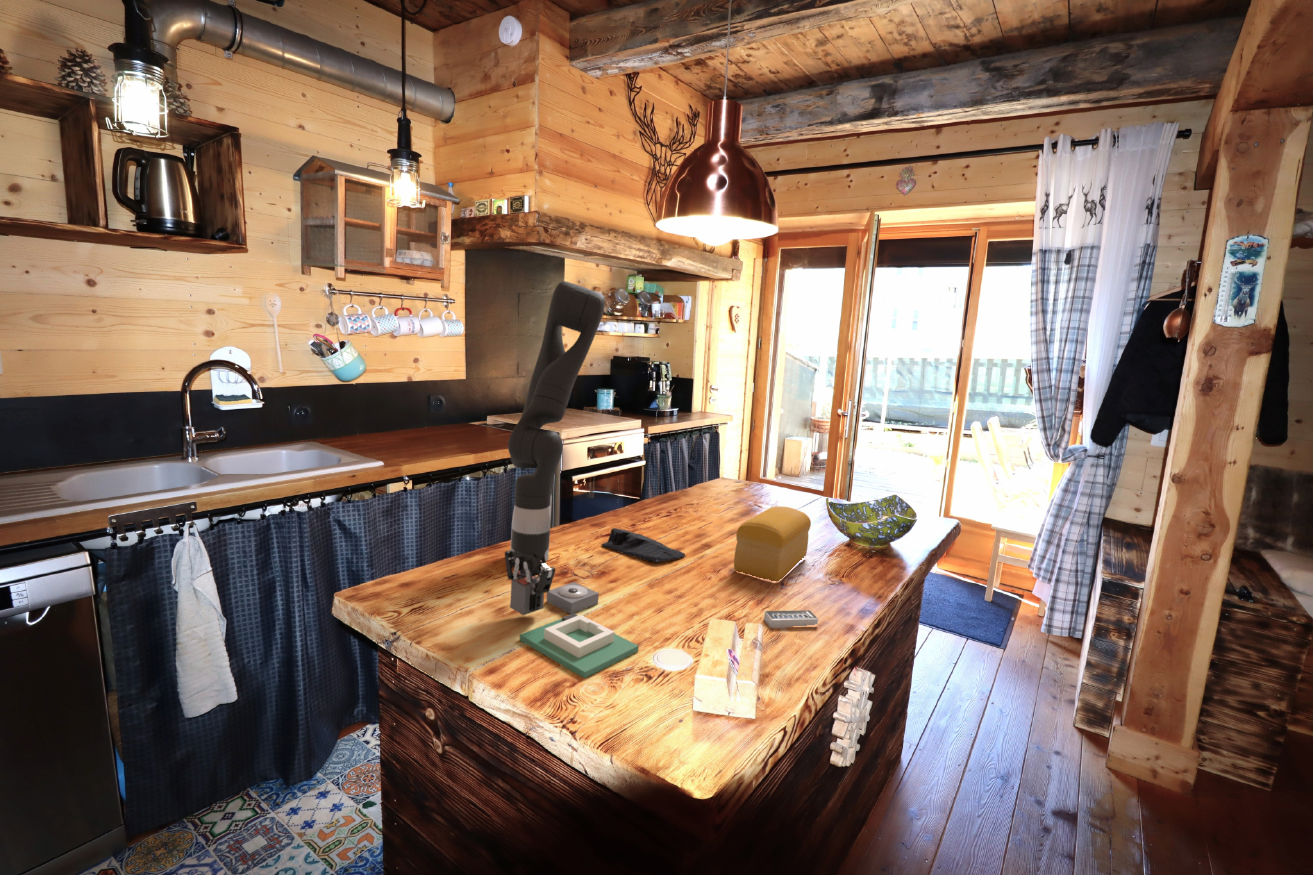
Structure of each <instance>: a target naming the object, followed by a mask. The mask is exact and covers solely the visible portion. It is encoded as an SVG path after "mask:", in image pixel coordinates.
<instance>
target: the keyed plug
mask: <svg viewBox="0 0 1313 875" xmlns="http://www.w3.org/2000/svg"><path fill="white" fill-rule="evenodd" d="M535 577H537V575H536V576H533V577H532V578H535ZM510 585H511V586H510V587H511V588H510V602H509V603H510V606H509V608H511V610H514V611H515V612H517V613H519V614H520V615H522V616H527V615H528V614H531V613H534V612H537V611H539V610H543V609H544V602H545V601H544V600H545V599H544V598H545V593H543V594H541V606H540V608H539V610H536V611H533V612H532V611H530V610H529V607H530V594H531V593H530V585H529V583H527V579H526V577H525V576H524V577H520V578H519V579H514V580H511V583H510ZM537 586H538V583H537V582H536V583H535V588H537Z"/></svg>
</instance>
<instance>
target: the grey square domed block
mask: <svg viewBox="0 0 1313 875" xmlns="http://www.w3.org/2000/svg"><path fill="white" fill-rule="evenodd" d="M599 594H600V593H599V592H597V591H595V590H592V589H591V588H588V587H586V586H584V585H581V584H579V583H577V582H575V581H573V582H569V583H567V584H564V585H562V586H558V587H555V588H553V589H550V590H549V592H546V601H545V602H546V603H548V604H550V605H551V606H554V607H556V608H558V609H560V610H561V611H564V612H566V613H568V614H569V615H570V614H573V613H574V614H576V613H578V612H580V611H583V610H586V609H588V608H590V607H594V606H596V605H598V604H599Z"/></svg>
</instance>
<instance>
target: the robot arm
mask: <svg viewBox="0 0 1313 875" xmlns="http://www.w3.org/2000/svg"><path fill="white" fill-rule="evenodd" d="M605 306H606V298H605V296H604V295H603V294H602V293H600V292H598V291H595V290H593V289H590V288H587V287H585V286H582V285H579V284H576V283H574V282H573V283H572V282H570V281H565V280H564V281H563V280H562V281H560V282H559V283H558V284H557V285H556V286H555V289H554V291H553V294H552V296H551V300H550V304H549V309H548V314H547V317H546V324H545V327H544V333H543V338H542V342H541V346H540V348H539V353H538V356H537V359H536V363H535V366H534V368H533V369H534V370H533V372H532V374H531V375H532V376H531V379H530V382H529V387H528V392H527V395H526V400H525V403H524V407H523V411H522V414H521V416H520V419H519V421H518V422H517V424H516V425H515V426H514V428H513V430H512V431H511V433H510V435H509V439H508V442H507V443H508V444H507V450H508V453H509V457H510V461H511V463H512V465H513V466H514V467H515V468H519V469H524V470H525V469H536V470H535V471H534V472H533V473H525V474H521V475H519V476H518V477H517V478H516V480H515V489H514V507H513V512H512V521H511V531H510V532H511V534H510V536H511V537H510V550H506V551H505V552H504V558H505V559H504V560H505V567H506V574H507V579H508V580H509V581H512V580H514V579H519V578H520V577H524V576H525V577H526V579H527V583H529V585H530V593H531V594H530V607H529V610H530V611H532V613H534V612H537V611H539V608H540V606H541V594H543V593H544V594H547V592H549V590H551V586H552V582H553V580H554V577H555V574H556V568H555V566H551V567H550V566H548V565H547V561H548V559H549V557H550V556H549V554H550V553H549V552H550V538H551V536H550V535H551V520H552V517H551V516H552V500H553V496H552V495H553V487H554V483H555V475H556V471H557V469H558V466H559V463H560V462H561V461H560V460H561V457H562V455H563V450H564V444H563V440H562V438H561V436H560V435H559V433H557V432H556V431H554V430H548V429H542V427H543V426H545V425H547V424H553V423H554V424H555V423H557V422H558V423H559V422H561V421H562V420H563V418H564V416H565V413H566V411H567V410H566V409H567V407H568V404H569V400H570V398H571V395H572V394H571V393H572V390H573V388H574V385H575V382H576V380H577V378H578V375H579V373H580V370H581V369H582V366H583V365H584V362H585V360H586V357H587V355H588V353H589V350H590V348H591V346H592V344H593V341H594V339H595V336H596V334H597V332H598V330H599V327H600V324H601V321H602V320H603V319H602V318H603V316H604V312H605V308H606V307H605ZM562 327H563V328H566V329H569V330H572V331H575V332H578V333H579V335H578V338H577V339H576V341H575V342H574V343H573V344H572V346H571V347H570V348H568V349H567V350H566V349H565V346H564V343H563V336H562V335H563V334H562ZM513 568H514V569H513ZM533 576H536V577H535V578H532V577H533ZM536 582H537V583H538V586H537V588H535V583H536ZM536 610H537V611H536ZM533 611H534V612H533Z"/></svg>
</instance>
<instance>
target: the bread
mask: <svg viewBox="0 0 1313 875" xmlns="http://www.w3.org/2000/svg"><path fill="white" fill-rule="evenodd" d="M811 522H812V521H811V518H810V517H809V515H807V513H805V512H803V511H801V510H798V509H796V508H793V507H789V506H777V505H776V506H771V507H770V508H767V509H766V510H763V511H762V512H759V513H758V514H757V515H754V516H753V517H751V518H749V519H747V520H746V521H744V522H743V523H741V524H740V526H738V528H737V530H736V533H735V534H736V535H735V538H736V541H737V542H736V545H735V549H734V550H735V551H734V558H733V570H734V571H735V570H736V571H738V572H743V573H745V574H750V575H752V576H756V577H759V578H763V579H769V580H771V581H779V580H780V579H782V578H783V577H784V576H785V575H786V574H787V573H788V572H789V571H790V570H791V569H792V568H793V567H794V566H795V565H796V564H797V563H798V562H799V561H800V560H802V558H804V556H807V553H808V552H807V551H808V546H809V544H808V543H809V531H810V528H811V526H812V523H811Z"/></svg>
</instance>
